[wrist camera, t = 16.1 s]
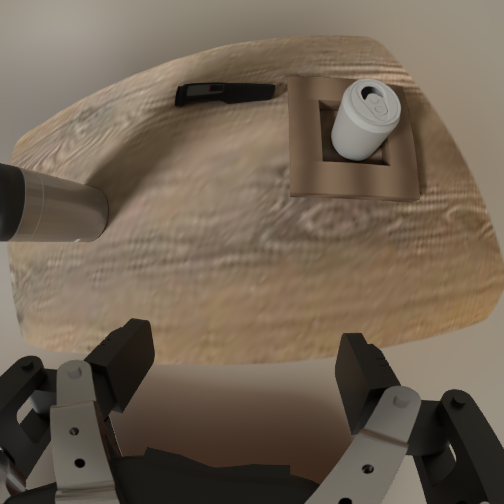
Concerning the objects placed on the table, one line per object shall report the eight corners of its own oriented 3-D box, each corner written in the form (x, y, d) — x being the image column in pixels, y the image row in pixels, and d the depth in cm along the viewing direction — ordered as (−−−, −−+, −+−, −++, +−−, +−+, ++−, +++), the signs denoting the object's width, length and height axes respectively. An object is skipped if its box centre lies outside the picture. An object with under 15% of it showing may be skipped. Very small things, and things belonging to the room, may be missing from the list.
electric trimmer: (275, 108, 35) (274, 97, 32) (175, 109, 37) (167, 100, 34) (277, 88, 35) (276, 76, 32) (180, 89, 37) (172, 80, 34)
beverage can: (364, 117, 33) (387, 72, 21) (381, 157, 33) (414, 123, 21) (323, 126, 34) (334, 79, 22) (339, 167, 34) (360, 133, 22)
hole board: (290, 197, 35) (290, 192, 32) (287, 87, 34) (287, 76, 31) (410, 202, 32) (419, 199, 29) (396, 96, 32) (402, 86, 29)
